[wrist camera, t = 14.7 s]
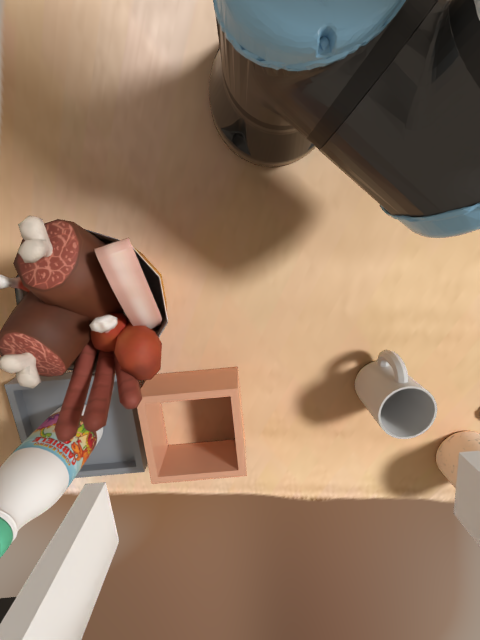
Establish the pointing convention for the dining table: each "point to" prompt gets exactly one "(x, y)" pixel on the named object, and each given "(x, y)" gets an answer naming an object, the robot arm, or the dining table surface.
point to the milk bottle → (40, 474)
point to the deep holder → (191, 457)
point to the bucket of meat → (83, 319)
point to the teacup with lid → (455, 452)
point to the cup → (395, 397)
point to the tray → (118, 435)
